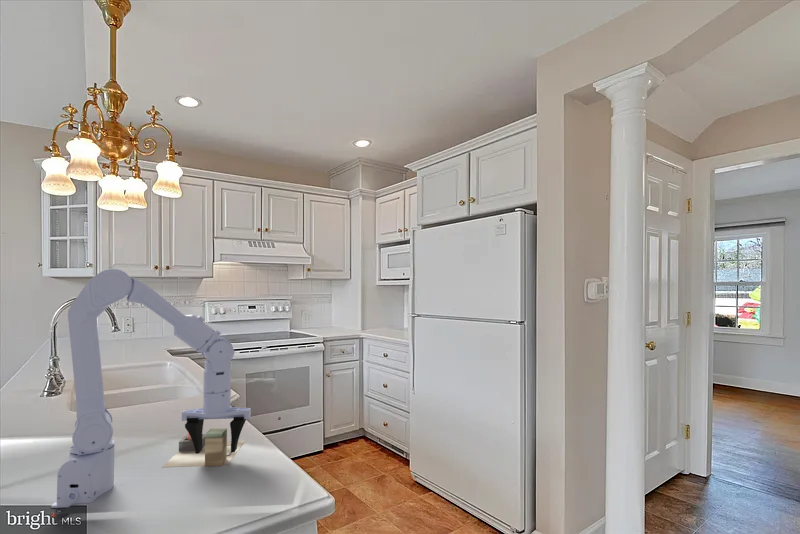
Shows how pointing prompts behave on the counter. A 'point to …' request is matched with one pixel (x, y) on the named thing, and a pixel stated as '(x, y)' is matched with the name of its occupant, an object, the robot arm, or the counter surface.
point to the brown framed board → (190, 458)
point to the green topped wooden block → (216, 447)
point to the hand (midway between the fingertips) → (216, 451)
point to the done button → (188, 436)
